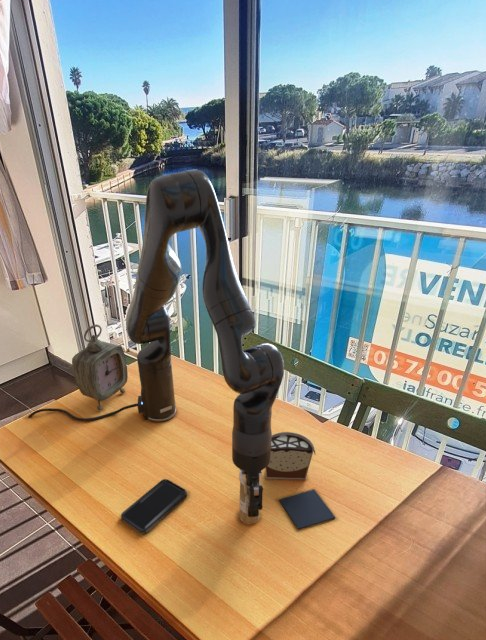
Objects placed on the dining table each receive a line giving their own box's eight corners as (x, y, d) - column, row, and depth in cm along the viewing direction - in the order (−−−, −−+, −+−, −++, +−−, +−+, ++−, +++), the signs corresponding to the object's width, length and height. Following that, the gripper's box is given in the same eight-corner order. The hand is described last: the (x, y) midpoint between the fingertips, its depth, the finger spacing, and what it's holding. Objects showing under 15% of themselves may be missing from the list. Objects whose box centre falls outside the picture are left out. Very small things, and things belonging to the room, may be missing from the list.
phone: (188, 491, 105) (143, 532, 96) (189, 495, 106) (144, 535, 97) (164, 477, 110) (118, 515, 101) (164, 480, 110) (119, 518, 101)
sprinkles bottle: (238, 509, 102) (238, 465, 94) (258, 508, 102) (260, 464, 94) (239, 525, 98) (240, 480, 90) (260, 524, 98) (263, 480, 90)
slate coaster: (298, 529, 96) (298, 528, 96) (278, 500, 103) (279, 499, 103) (335, 518, 98) (335, 517, 98) (313, 490, 105) (314, 489, 105)
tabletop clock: (100, 415, 135) (84, 339, 120) (78, 407, 139) (60, 333, 124) (131, 391, 144) (119, 319, 129) (109, 384, 148) (96, 313, 134)
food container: (308, 462, 113) (313, 430, 107) (311, 479, 108) (316, 447, 102) (259, 461, 114) (260, 430, 109) (260, 478, 110) (261, 446, 104)
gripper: (228, 421, 93) (228, 478, 102) (237, 468, 81) (236, 527, 91) (264, 418, 93) (261, 476, 103) (278, 465, 81) (273, 525, 91)
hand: (249, 500), depth 97 cm, fingers open, 8 cm apart
